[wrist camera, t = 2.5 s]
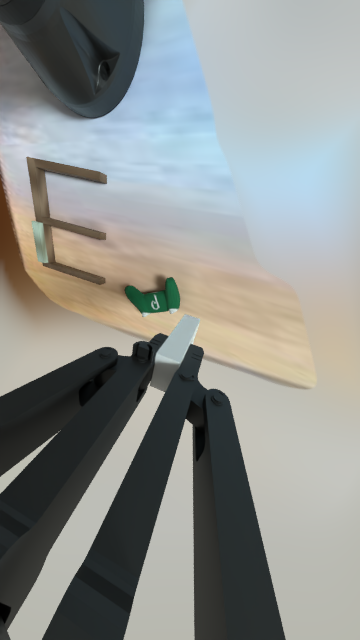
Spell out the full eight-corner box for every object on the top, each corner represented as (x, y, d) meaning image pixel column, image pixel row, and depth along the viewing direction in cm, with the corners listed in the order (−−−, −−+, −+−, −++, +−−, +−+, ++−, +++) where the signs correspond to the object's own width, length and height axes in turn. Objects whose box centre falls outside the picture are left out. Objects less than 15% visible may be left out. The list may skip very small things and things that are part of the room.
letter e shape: (36, 160, 28) (20, 154, 26) (106, 175, 26) (95, 169, 24) (50, 265, 35) (38, 266, 33) (105, 283, 33) (96, 285, 31)
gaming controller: (133, 283, 31) (143, 312, 34) (121, 288, 28) (132, 320, 30) (179, 273, 28) (186, 307, 30) (171, 277, 25) (180, 315, 27)
